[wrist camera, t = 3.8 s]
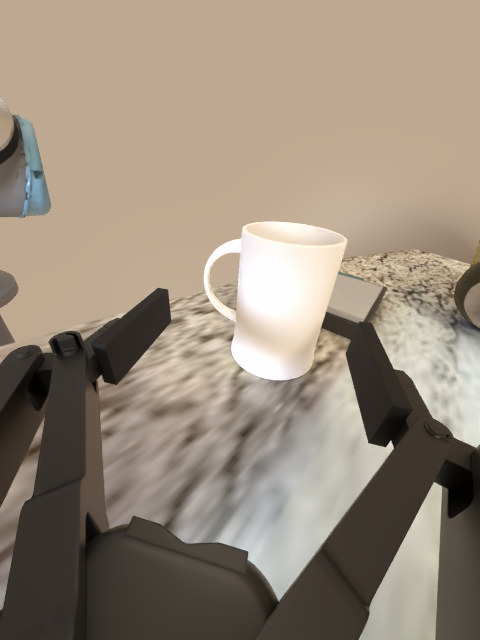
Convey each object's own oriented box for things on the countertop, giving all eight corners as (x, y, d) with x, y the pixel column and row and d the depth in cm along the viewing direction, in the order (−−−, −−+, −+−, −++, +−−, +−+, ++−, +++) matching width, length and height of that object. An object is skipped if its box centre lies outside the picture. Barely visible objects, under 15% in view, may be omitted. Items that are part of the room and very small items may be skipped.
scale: (263, 304, 33) (266, 285, 32) (306, 275, 44) (309, 261, 42) (359, 342, 27) (367, 322, 26) (382, 298, 38) (389, 282, 36)
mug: (187, 353, 24) (179, 226, 17) (224, 314, 30) (228, 212, 24) (306, 394, 20) (351, 256, 14) (317, 339, 27) (351, 230, 21)
